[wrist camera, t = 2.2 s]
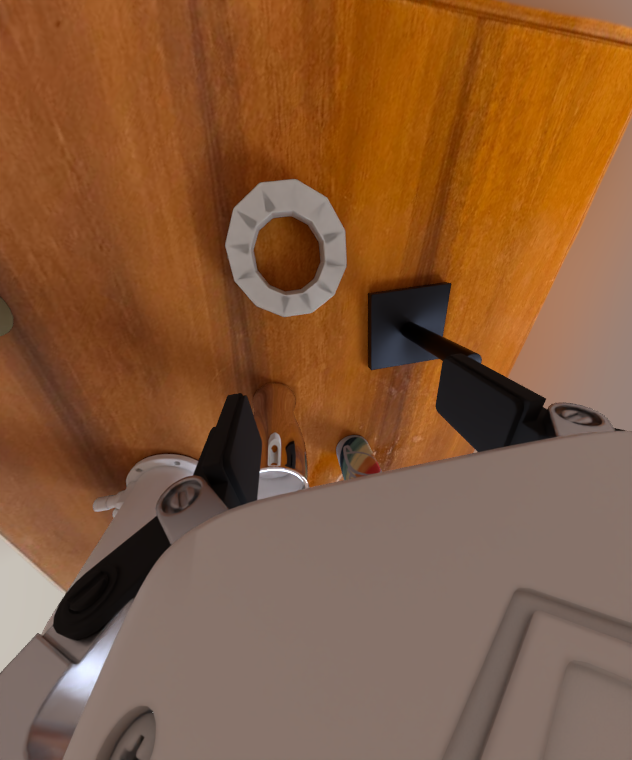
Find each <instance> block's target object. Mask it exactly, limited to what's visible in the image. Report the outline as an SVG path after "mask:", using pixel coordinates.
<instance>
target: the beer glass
mask: <svg viewBox="0 0 632 760" xmlns="http://www.w3.org/2000/svg"><path fill="white" fill-rule="evenodd" d="M295 406H296V397H295V394H294V393H293V391H292V390H291V389H290V388H289V387H288V386H286V385H284V384H280V383H269V384H266V385H264V386H262V387H260V388H259V389H258V390H257V391H256V393H255V395H254V398H253V407H254V415H253V416H254V419H255V422H256V425H257V428H258V431H259V434H260V437H261V440H262V454H261V465H260V476H259V486H258V497H257V500H260V499H264V498H268V497H272V496H276V495H280V494H285V493H289V492H293V491H298V490H302V489H306V488H309V484H308V462H307V452H306V447H305V442H304V438H303V435H302V432H301V430H300V427H299V424H298V422H297V420H296V417H295V413H294V411H295Z"/></svg>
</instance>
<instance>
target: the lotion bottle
mask: <svg viewBox="0 0 632 760" xmlns="http://www.w3.org/2000/svg"><path fill="white" fill-rule="evenodd" d="M336 452H337V457H338V460H339V464H340V467H341V471H342V474H343V477H344V480H348V479H352V478H357V477H362V476H366V475H371V474H376V473H381V472H382V471H381V469H380V467H379V465H378V463H377V461H376V459H375V457H374V455H373V452H372V450H371V448H370V446H369V444H368V443H367V441H366V440H365V439H364V438H363V437H361V436H358V435H351V436H348V437H345V438H344V439H342V440H341V441H340V442H339V443H338V445H337V448H336Z"/></svg>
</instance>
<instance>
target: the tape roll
mask: <svg viewBox="0 0 632 760" xmlns="http://www.w3.org/2000/svg"><path fill="white" fill-rule="evenodd" d="M286 216H292V217H294V218H296V219H298V220H300V221H301V222H303V223H305V224H307V225H308V226H309V227H310V229H311V230H312V232H313V234H314V235H315V237H316V239H317V240H318V242H319V250H320V261H321V262H320V264H319V267H318V270H317V272H316V275H315V277H314V279H313V280H312V281H310V282H309V283H308V284H307V285H306V286H304V287H303V288H302V289H300V290H292V291H283V290H280V289H278V288H276V287H273V286H271V285H269V284H268V283H267V281H266V280H265V279H264V277H263V276H262V275H261V274H260V272H259V271H258V270H257V265H256V260H255V256H254V251H253V250H254V246H255V243H256V239H257V236H258V232H259V230H260V229H261V228H263V227H264V226H265V225H266V224H267V223H268V222H269V221H270V220H271V219H272V218H278V217H286ZM225 247H226V251H227V255H228V258H229V262H230V266H231V270H232V274H233V277H234V281H235V282H236V283H237V284H238V286H239V287H240V288H241V289H242V290H243V291H244V293H245V294H246V295H247V296H248V297H249V298H250V299H251V301H252V302H253V303H254V304H255V305H256V306H257V307H260V308H262V309H265V310H268V311H270V312H273V313H275V314H278V315H280V316H283V317H287V316H294V315H301V314H307V313H312V312H313V311H315V310H316V309H317V308H318V307H320V306H321V305H322V304H323V303H325V302H326V301H327V300H328V299H330V298H331V297H332V296H333V295H334V294H335V291H336V289H337V287H338V285H339V282H340V280H341V278H342V275H343V273H344V271H345V269H346V266H347V263H346V239H345V229H344V228H343V226H342V224H341V222H340V220H339V218H338V217H337V215H336V213H335V211H334V209H333V208H332V206H331V204H330V202H329V200H328V198H327V197H325V196H324V195H322V194H320V193H319V192H317V191H315V190H314V189H312V188H310V187H308V186H307V185H305V184H303V183H302V182H300V181H298V180H297V179H288V180H279V181H269V182H260V183H259V184H258V185H257V186H256V187H255V188H254V189H253V190H252V191H251V192H249V193H248V194H247V195H246V196H245V197H244V198H243V199H242V200H241V201H240V202H239V203H238V204H237V205H236V206H235V207H234V208H233V212H232V217H231V221H230V225H229V230H228V234H227V239H226V243H225Z"/></svg>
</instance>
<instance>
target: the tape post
mask: <svg viewBox="0 0 632 760" xmlns="http://www.w3.org/2000/svg"><path fill="white" fill-rule="evenodd" d="M450 288H451V283H447V282H443V283H437V284H430V285H423V286H416V287H409V288H402V289H395V290H388V291H381V292H374V293H368V367H369V368H370V369H371V370H375V369H381V368H386V367H392V366H398V365H404V364H410V363H416V362H422V361H428V360H434V359H441V360H442V361H443V360H444V359H446V357H447V356H449V355H454V354H460V353H461V354H464V355H466V356H468V357H469V358H471V359H473V360H475V361H477V362H479V363H481V361H482V359H481V356H480V355H479V354H477V353H475V352H473V351H471V350H469V349H467V348H465V347H463V346H461V345H459V344H456V343H454V342H452V341H450V340H448V339H446V338H444V337H443V331H444V325H445V319H446V313H447V307H448V301H449V295H450Z"/></svg>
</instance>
